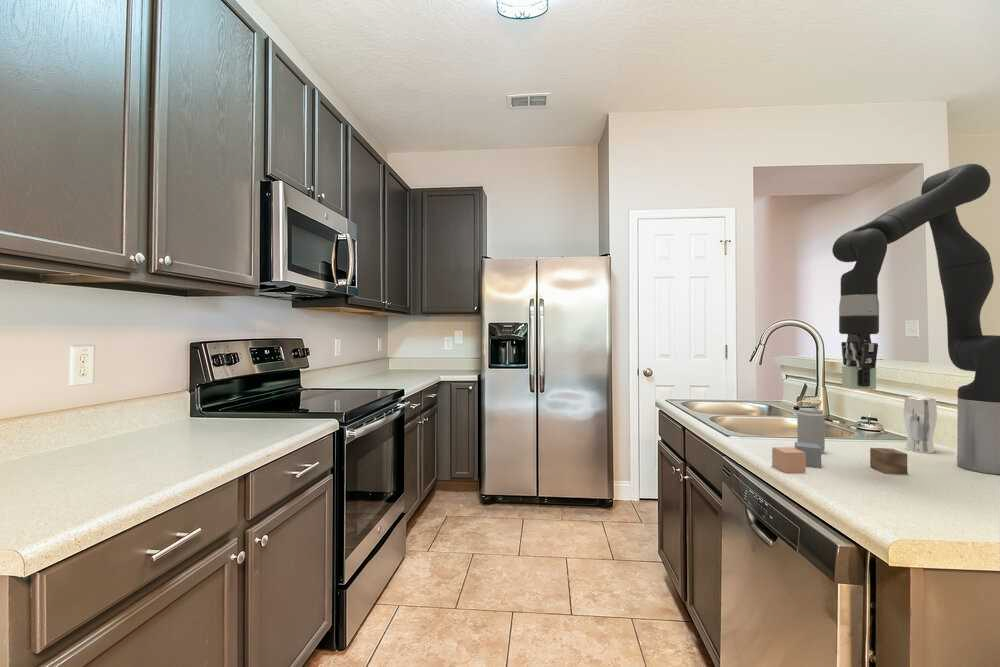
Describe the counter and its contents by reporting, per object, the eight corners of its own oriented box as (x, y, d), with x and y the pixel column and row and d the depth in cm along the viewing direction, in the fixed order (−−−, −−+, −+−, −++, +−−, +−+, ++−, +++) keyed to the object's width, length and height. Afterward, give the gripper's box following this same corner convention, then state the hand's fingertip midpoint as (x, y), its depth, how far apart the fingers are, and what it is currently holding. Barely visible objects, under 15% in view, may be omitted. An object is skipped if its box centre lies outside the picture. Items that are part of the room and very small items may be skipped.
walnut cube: (892, 468, 112) (892, 448, 112) (907, 474, 107) (907, 453, 107) (870, 467, 113) (870, 447, 113) (884, 473, 108) (884, 453, 108)
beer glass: (943, 453, 126) (944, 400, 126) (918, 453, 126) (919, 400, 126) (920, 447, 133) (921, 396, 133) (897, 447, 133) (897, 396, 133)
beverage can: (829, 454, 125) (829, 411, 125) (803, 453, 126) (803, 410, 126) (817, 448, 131) (817, 407, 131) (793, 447, 132) (793, 407, 132)
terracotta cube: (791, 466, 114) (791, 447, 114) (805, 473, 109) (805, 452, 109) (772, 467, 114) (772, 447, 113) (785, 473, 109) (785, 452, 108)
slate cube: (817, 463, 117) (817, 444, 117) (821, 468, 112) (821, 448, 112) (794, 460, 119) (794, 441, 119) (797, 465, 115) (797, 446, 115)
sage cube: (866, 386, 110) (866, 366, 110) (876, 389, 105) (876, 367, 105) (841, 386, 111) (841, 365, 111) (850, 388, 106) (850, 367, 106)
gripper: (892, 313, 100) (892, 389, 100) (864, 315, 114) (863, 382, 114) (852, 313, 102) (852, 388, 102) (829, 315, 116) (828, 381, 116)
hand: (858, 384), depth 108 cm, fingers closed on sage cube, 5 cm apart
